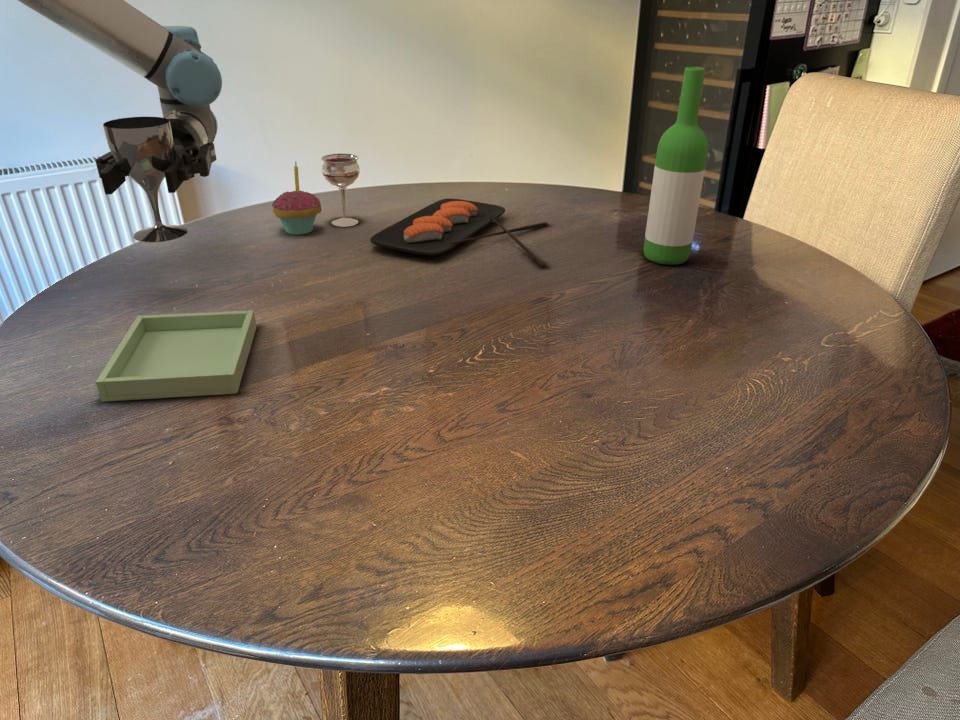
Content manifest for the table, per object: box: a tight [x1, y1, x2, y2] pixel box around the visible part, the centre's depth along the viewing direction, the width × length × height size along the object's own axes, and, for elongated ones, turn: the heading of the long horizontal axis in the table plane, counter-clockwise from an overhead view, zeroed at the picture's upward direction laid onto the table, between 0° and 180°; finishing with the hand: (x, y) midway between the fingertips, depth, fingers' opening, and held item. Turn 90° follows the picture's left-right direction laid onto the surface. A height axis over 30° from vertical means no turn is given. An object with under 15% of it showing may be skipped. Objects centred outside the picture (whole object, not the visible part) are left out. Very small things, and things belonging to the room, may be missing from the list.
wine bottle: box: [643, 66, 709, 266], centre depth 111 cm, size 8×8×30 cm
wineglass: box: [320, 152, 361, 228], centre depth 129 cm, size 7×7×12 cm
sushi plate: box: [369, 198, 548, 268], centre depth 124 cm, size 29×30×4 cm
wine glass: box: [102, 116, 189, 243], centre depth 94 cm, size 8×8×15 cm
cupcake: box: [271, 161, 322, 236], centre depth 125 cm, size 9×8×12 cm
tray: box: [95, 310, 257, 403], centre depth 85 cm, size 15×17×3 cm
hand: (137, 183), depth 90 cm, fingers closed on wine glass, 7 cm apart
